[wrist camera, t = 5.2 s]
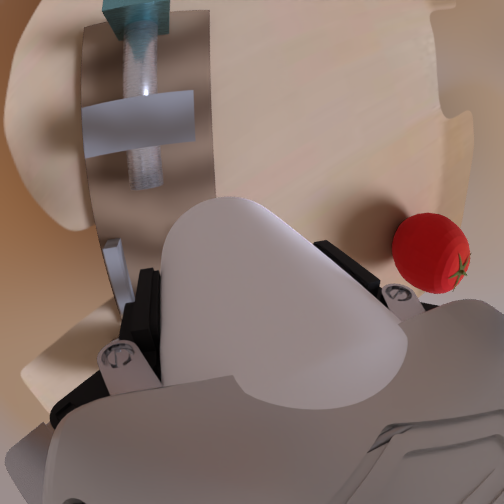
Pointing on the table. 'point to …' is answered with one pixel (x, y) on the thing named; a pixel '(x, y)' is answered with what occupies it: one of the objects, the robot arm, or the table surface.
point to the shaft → (140, 71)
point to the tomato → (431, 252)
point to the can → (270, 313)
